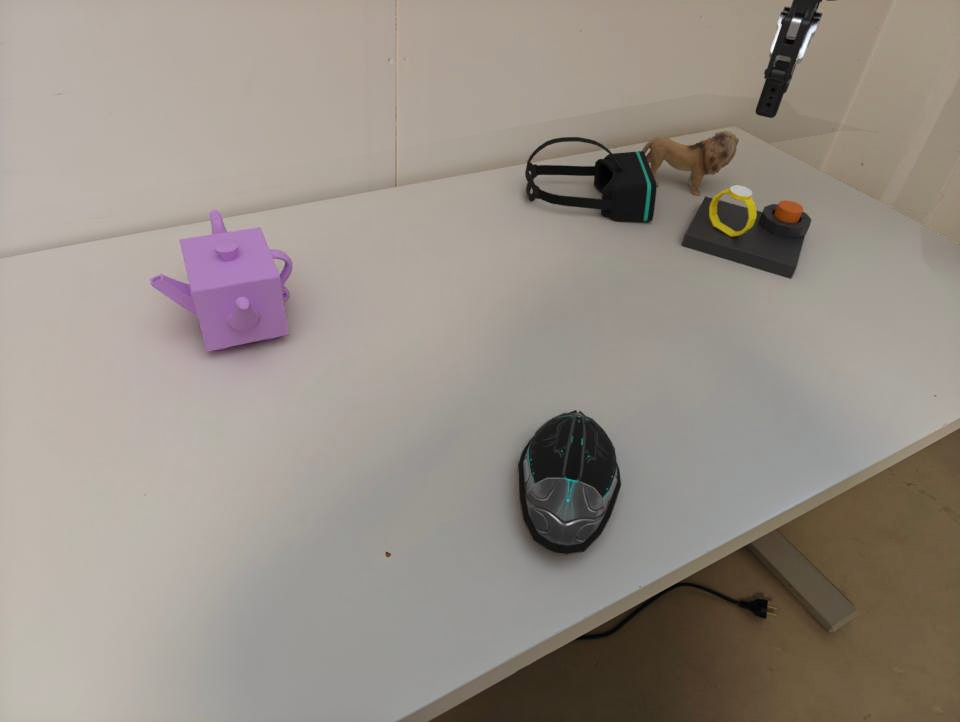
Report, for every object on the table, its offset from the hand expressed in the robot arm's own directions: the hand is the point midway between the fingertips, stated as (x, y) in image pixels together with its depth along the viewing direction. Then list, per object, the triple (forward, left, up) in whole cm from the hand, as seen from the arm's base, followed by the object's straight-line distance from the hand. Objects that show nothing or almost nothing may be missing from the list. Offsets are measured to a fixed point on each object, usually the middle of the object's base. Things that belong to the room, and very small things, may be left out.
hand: (770, 103), depth 78 cm
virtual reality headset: (+20, -1, -19) cm, 27 cm away
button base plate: (-2, -3, -19) cm, 19 cm away
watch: (0, 0, -17) cm, 17 cm away
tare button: (-6, -6, -16) cm, 18 cm away
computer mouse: (+4, +48, -19) cm, 52 cm away
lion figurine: (+10, -14, -19) cm, 25 cm away
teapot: (+42, +45, -19) cm, 64 cm away
